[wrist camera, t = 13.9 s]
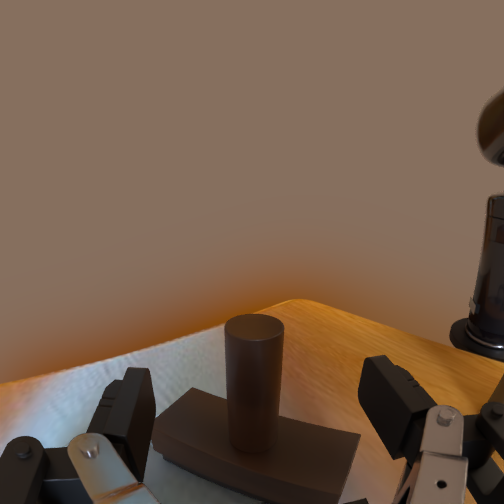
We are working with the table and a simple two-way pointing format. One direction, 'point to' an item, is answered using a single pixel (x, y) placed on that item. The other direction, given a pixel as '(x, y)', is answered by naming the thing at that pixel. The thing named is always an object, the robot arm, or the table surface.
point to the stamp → (254, 428)
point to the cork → (498, 392)
